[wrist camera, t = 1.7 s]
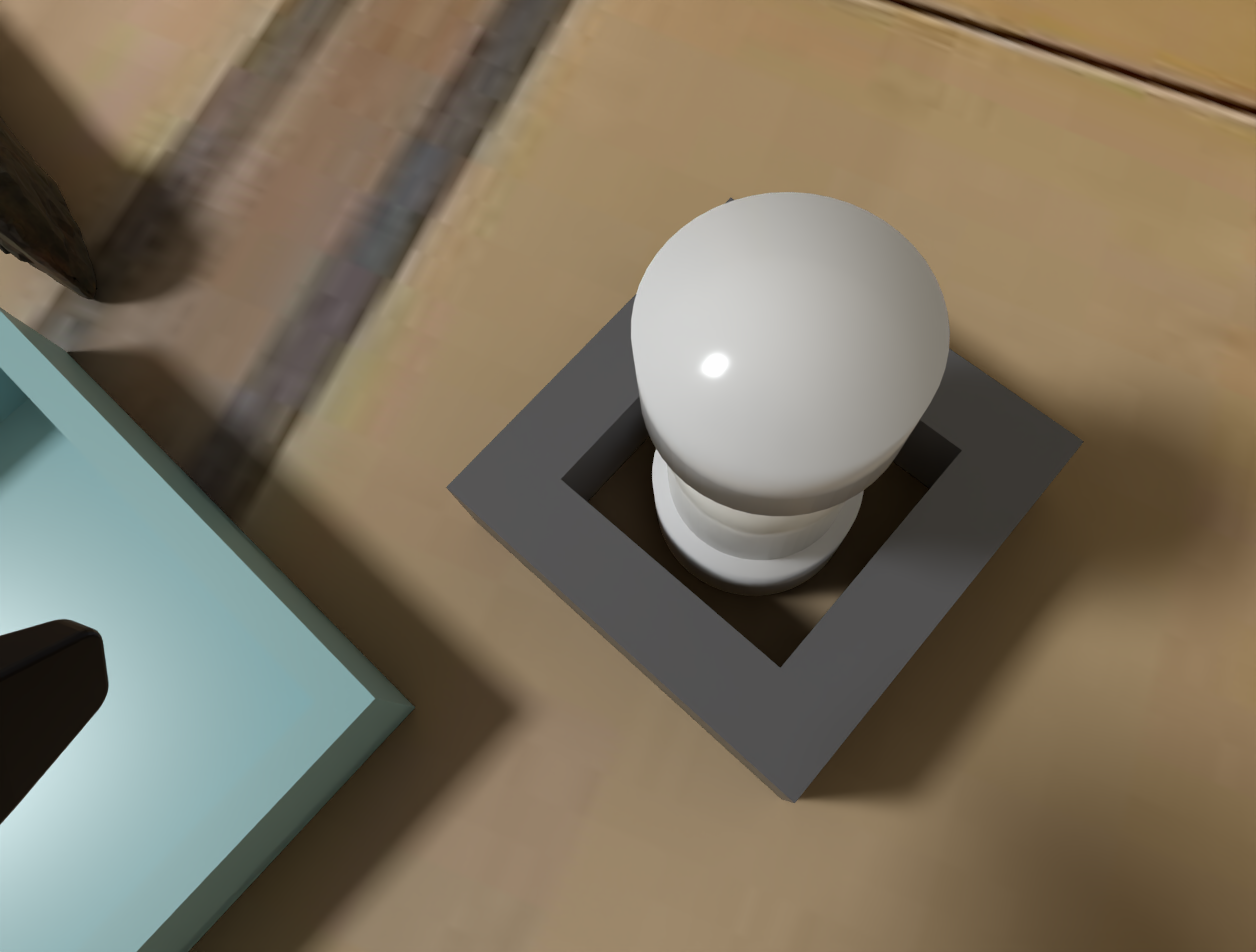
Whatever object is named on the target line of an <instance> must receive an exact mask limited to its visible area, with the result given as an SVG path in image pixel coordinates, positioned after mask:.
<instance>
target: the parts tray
mask: <svg viewBox="0 0 1256 952" xmlns="http://www.w3.org/2000/svg"><path fill="white" fill-rule="evenodd" d="M58 619H68V620H73V621H75V622H78V623H80V624H83V625H86V626H88V627H91V628H93V629H95V630H97V631H98V632H99V633H100V635H101V636H102V639H103V644H104V651H105V659H106V666H107V673H108V681H109V688H108V693H107V696H106V698H105V700H104V702H103V704H102V706H101V707H100V708H99V710H98V711H97V712H96V713H95V715H94V716H93V717H92V718H91V719H90V721H89V722H88V723H87V724H86V725H85V726H84V728H83V729H82V730H81V731H80V732H79V734H78V735H77V736H76V737H75V738H74V739H73V741H72V742H71V743H70V744H69V745H68V747H67V748H66V749H65V750H64V751H63V752H62V754H61V755H60V756H59V757H58V758H57V760H56V761H55V762H54V763H53V764H52V765H51V767H50V768H49V769H48V770H47V771H46V772H45V774H44V775H43V776H42V777H41V778H40V780H39V781H38V782H37V783H36V784H35V785H34V787H33V788H32V789H31V790H30V791H29V793H28V794H27V795H26V796H25V797H24V798H23V800H22V801H21V802H20V803H19V804H18V806H17V807H16V808H15V809H14V810H13V811H12V812H11V813H10V815H9V816H8V817H7V818H6V819H5V820H4V821H3V822H2V824H1V825H0V952H188V951H189V950H190V949H191V948H192V947H193V946H194V945H195V944H196V943H197V942H198V941H199V940H200V938H201V937H202V936H203V935H204V934H205V933H206V932H207V931H208V930H209V929H210V928H211V927H212V926H213V925H214V923H215V922H216V921H217V920H218V919H219V918H220V917H221V916H222V915H223V914H224V913H225V912H226V911H227V909H228V908H229V907H230V906H231V905H232V904H233V903H234V902H235V901H236V900H237V899H238V898H239V897H240V895H241V894H242V893H243V892H244V891H245V890H246V889H247V888H248V887H249V886H250V885H251V884H252V883H253V881H254V880H255V879H256V878H257V877H258V876H259V875H260V874H261V873H262V872H263V871H264V870H265V869H266V867H267V866H268V865H269V864H270V863H271V862H272V861H273V860H274V859H275V858H276V857H277V856H278V855H279V853H280V852H281V851H282V850H283V849H284V848H285V847H286V846H287V845H288V844H289V843H290V842H291V841H292V840H293V838H294V837H295V836H296V835H297V834H298V833H299V832H300V831H301V830H302V829H303V828H304V827H305V826H306V824H307V823H308V822H309V821H310V820H311V819H312V818H313V817H314V816H315V815H316V814H317V813H318V812H319V810H320V809H321V808H322V807H323V806H324V805H325V804H326V803H327V802H328V801H329V800H330V799H331V798H332V796H333V795H334V794H335V793H336V792H337V791H338V790H339V789H340V788H341V787H342V786H343V785H344V784H345V782H346V781H347V780H348V779H349V778H350V777H351V776H352V775H353V774H354V773H355V772H356V771H357V770H358V769H359V767H360V766H361V765H362V764H363V763H364V762H365V761H366V760H367V759H368V758H369V757H370V756H371V755H372V753H373V752H374V751H375V750H376V749H377V748H378V747H379V746H380V745H381V744H382V743H383V742H384V741H385V739H386V738H387V737H388V736H389V735H390V734H391V733H392V732H393V731H394V730H395V729H396V728H397V727H398V725H399V724H400V723H401V722H402V721H403V720H404V719H405V718H406V717H407V716H408V715H409V714H410V713H411V711H412V710H413V709H414V708H415V707H414V706H413V705H412V704H411V703H410V702H409V701H408V700H407V699H406V698H405V697H404V696H403V695H402V694H401V693H400V691H399V690H398V689H397V688H396V687H395V686H394V685H393V684H392V683H391V682H390V681H389V680H388V679H387V678H386V677H385V676H384V675H383V674H382V673H381V672H380V671H379V670H378V669H377V668H376V667H375V666H374V665H373V664H372V663H371V662H370V661H369V660H368V659H367V658H366V657H365V656H364V655H363V654H362V653H361V652H360V651H359V650H358V649H357V648H356V647H355V646H354V645H353V644H352V643H351V642H350V641H349V640H348V639H347V637H346V636H345V635H344V634H343V633H342V632H341V631H340V630H339V629H338V628H337V627H336V626H335V625H334V624H333V623H332V622H331V621H330V620H329V619H328V618H327V617H326V616H325V615H324V614H323V613H322V612H321V611H320V610H319V609H318V608H317V607H316V606H315V605H314V604H313V603H312V602H311V601H310V600H309V599H308V598H307V597H306V596H305V595H304V594H303V593H302V592H301V591H300V590H299V589H298V588H297V587H296V586H295V585H294V584H293V582H292V581H291V580H290V579H289V578H288V577H287V576H286V575H285V574H284V573H283V572H282V571H281V570H280V569H279V568H278V567H277V566H276V565H275V564H274V563H273V562H272V561H271V560H270V559H269V558H268V557H267V556H266V555H265V554H264V553H263V552H262V551H261V550H260V549H259V548H258V547H257V546H256V545H255V544H254V543H253V542H252V541H251V540H250V539H249V538H248V537H247V536H246V535H245V534H244V533H243V532H242V531H241V530H240V528H239V527H238V526H237V525H236V524H235V523H234V522H233V521H232V520H231V519H230V518H229V517H228V516H227V515H226V514H225V513H224V512H223V511H222V510H221V509H220V508H219V507H218V506H217V505H216V504H215V503H214V502H213V501H212V500H211V499H210V498H209V497H208V496H207V495H206V494H205V493H204V492H203V491H202V490H201V489H200V488H199V487H198V486H197V485H196V484H195V483H194V482H193V481H192V480H191V479H190V478H189V477H188V476H187V474H186V473H185V472H184V471H183V470H182V469H181V468H180V467H179V466H178V465H177V464H176V463H175V462H174V461H173V460H172V459H171V458H170V457H169V456H168V455H167V454H166V453H165V452H164V451H163V450H162V449H161V448H160V447H159V446H158V445H157V444H156V443H155V442H154V441H153V440H152V439H151V438H150V437H149V436H148V435H147V434H146V433H145V432H144V431H143V430H142V429H141V428H140V427H139V426H138V425H137V424H136V423H135V422H134V421H133V419H132V418H131V417H130V416H129V415H128V414H127V413H126V412H125V411H124V410H123V409H122V408H121V407H120V406H119V405H118V404H117V403H116V402H115V401H114V400H113V399H112V398H111V397H110V396H109V395H108V394H107V393H106V392H105V391H104V390H103V389H102V388H101V387H100V386H99V385H98V384H97V383H96V382H95V381H94V380H93V379H92V378H91V377H90V376H89V375H88V374H87V373H86V372H85V371H84V370H83V369H82V368H81V367H80V365H79V364H78V363H77V362H76V361H75V360H74V359H73V358H72V357H71V356H70V355H69V354H68V353H67V352H66V351H65V350H63V349H62V348H60V347H59V346H57V345H56V344H54V343H53V342H51V341H50V340H48V339H47V338H45V337H44V336H42V335H41V334H39V333H38V332H36V331H35V330H33V329H32V328H30V327H29V326H27V325H26V324H24V323H23V322H21V321H20V320H18V319H17V318H15V317H14V316H12V315H11V314H9V313H8V312H6V311H5V310H3V309H2V308H0V635H4V634H7V633H11V632H14V631H18V630H21V629H25V628H28V627H32V626H35V625H39V624H43V623H46V622H50V621H53V620H58Z"/></svg>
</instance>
